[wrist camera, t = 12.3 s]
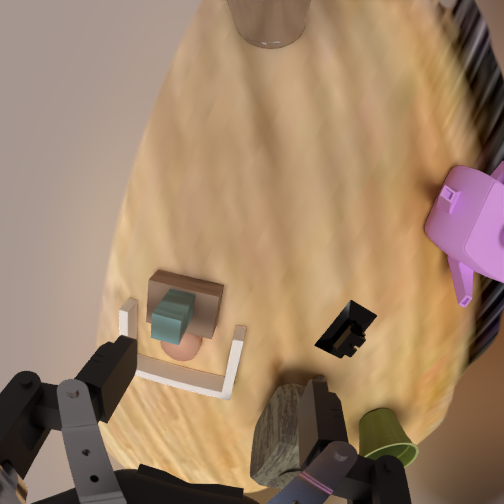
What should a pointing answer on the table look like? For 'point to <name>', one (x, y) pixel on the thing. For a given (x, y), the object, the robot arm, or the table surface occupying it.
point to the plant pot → (385, 437)
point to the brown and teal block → (182, 306)
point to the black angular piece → (346, 331)
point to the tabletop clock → (278, 438)
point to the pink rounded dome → (183, 347)
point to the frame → (179, 374)
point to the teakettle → (470, 226)
